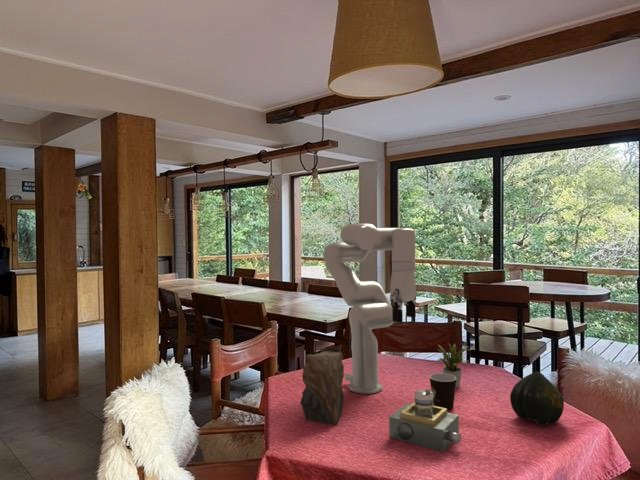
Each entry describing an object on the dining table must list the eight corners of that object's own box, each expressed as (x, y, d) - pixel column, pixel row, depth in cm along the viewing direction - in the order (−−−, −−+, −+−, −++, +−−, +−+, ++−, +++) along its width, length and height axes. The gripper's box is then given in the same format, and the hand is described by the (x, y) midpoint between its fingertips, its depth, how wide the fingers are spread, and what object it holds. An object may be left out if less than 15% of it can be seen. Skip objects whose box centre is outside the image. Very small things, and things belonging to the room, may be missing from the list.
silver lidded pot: (411, 416, 131) (411, 389, 131) (419, 410, 135) (419, 384, 135) (428, 420, 128) (428, 393, 128) (436, 414, 132) (436, 388, 132)
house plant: (479, 393, 165) (479, 347, 165) (441, 393, 165) (440, 348, 165) (467, 379, 179) (467, 338, 179) (432, 380, 180) (431, 338, 179)
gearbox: (388, 438, 131) (388, 412, 131) (407, 422, 141) (407, 398, 141) (453, 456, 120) (453, 428, 120) (469, 438, 130) (469, 412, 130)
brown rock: (299, 420, 145) (298, 357, 144) (316, 405, 156) (315, 347, 156) (336, 426, 140) (335, 361, 139) (351, 410, 151) (350, 350, 151)
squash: (526, 415, 132) (553, 372, 135) (493, 399, 146) (518, 360, 149) (557, 443, 135) (584, 400, 137) (522, 424, 149) (547, 386, 152)
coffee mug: (457, 413, 148) (457, 382, 148) (430, 411, 150) (430, 380, 149) (454, 399, 159) (454, 371, 159) (429, 398, 161) (428, 370, 161)
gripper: (404, 264, 157) (405, 313, 158) (380, 268, 143) (381, 322, 144) (425, 264, 153) (425, 316, 153) (402, 269, 139) (403, 325, 139)
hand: (404, 319), depth 149 cm, fingers open, 9 cm apart
